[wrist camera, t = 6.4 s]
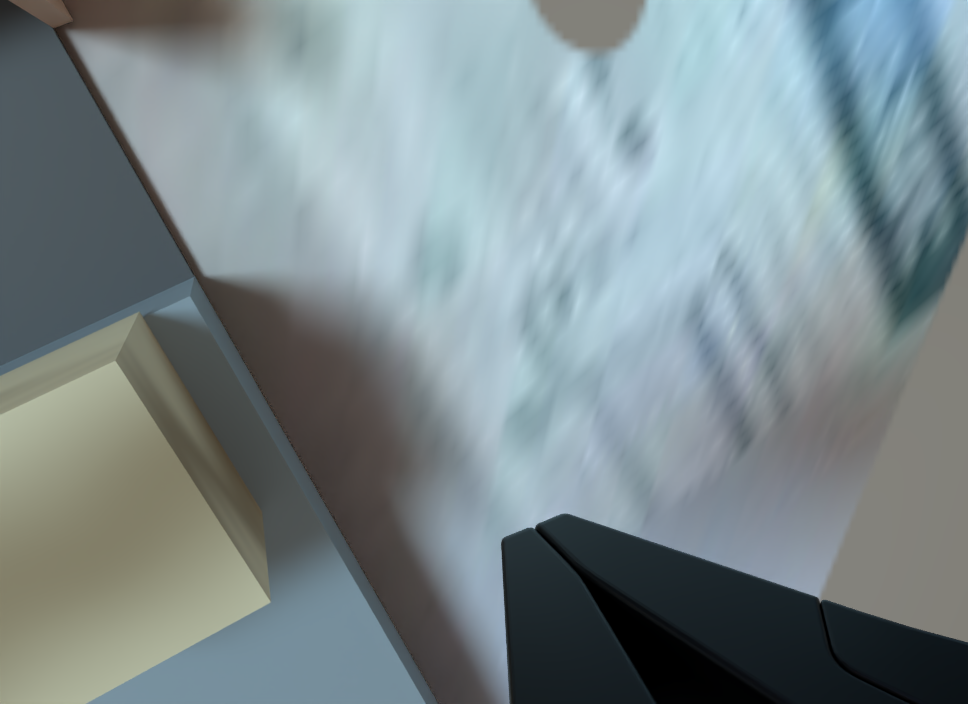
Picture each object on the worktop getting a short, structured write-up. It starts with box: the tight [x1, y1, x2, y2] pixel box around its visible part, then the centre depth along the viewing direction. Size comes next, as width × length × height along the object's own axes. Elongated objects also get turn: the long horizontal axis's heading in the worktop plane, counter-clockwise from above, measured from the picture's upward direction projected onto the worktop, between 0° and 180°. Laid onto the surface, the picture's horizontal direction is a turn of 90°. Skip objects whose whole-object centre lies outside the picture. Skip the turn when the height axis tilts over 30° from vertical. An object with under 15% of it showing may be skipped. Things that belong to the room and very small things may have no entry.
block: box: [0, 312, 271, 704], centre depth 14 cm, size 5×5×4 cm
